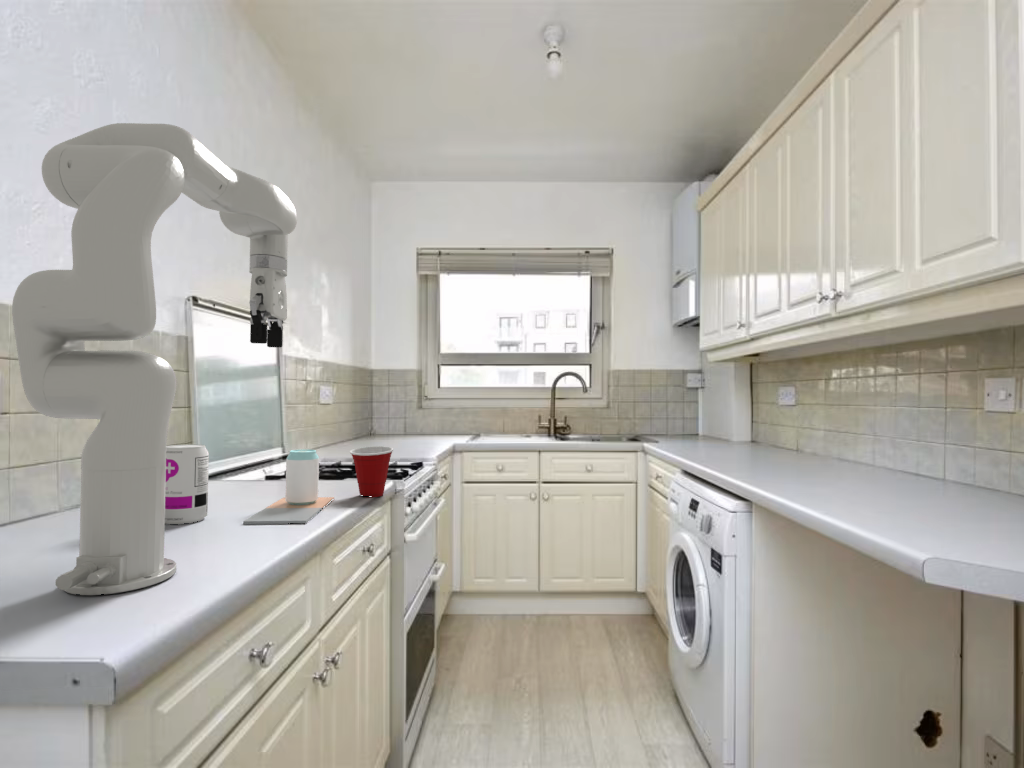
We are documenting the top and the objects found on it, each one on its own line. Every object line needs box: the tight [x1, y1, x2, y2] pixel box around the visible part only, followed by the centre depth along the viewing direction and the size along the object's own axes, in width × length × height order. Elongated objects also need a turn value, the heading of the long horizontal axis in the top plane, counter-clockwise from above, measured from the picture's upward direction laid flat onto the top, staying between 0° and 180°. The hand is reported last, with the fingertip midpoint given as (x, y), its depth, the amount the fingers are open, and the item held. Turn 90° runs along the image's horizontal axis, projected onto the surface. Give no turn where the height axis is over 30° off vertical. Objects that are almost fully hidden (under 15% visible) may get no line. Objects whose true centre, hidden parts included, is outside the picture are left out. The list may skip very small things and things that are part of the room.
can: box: [284, 449, 320, 505], centre depth 123 cm, size 7×7×12 cm
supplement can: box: [165, 443, 210, 525], centre depth 108 cm, size 8×8×15 cm
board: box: [242, 496, 335, 525], centre depth 117 cm, size 24×12×1 cm, turn 6°
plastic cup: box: [349, 445, 394, 498], centre depth 136 cm, size 11×11×12 cm
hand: (267, 345), depth 116 cm, fingers open, 9 cm apart
